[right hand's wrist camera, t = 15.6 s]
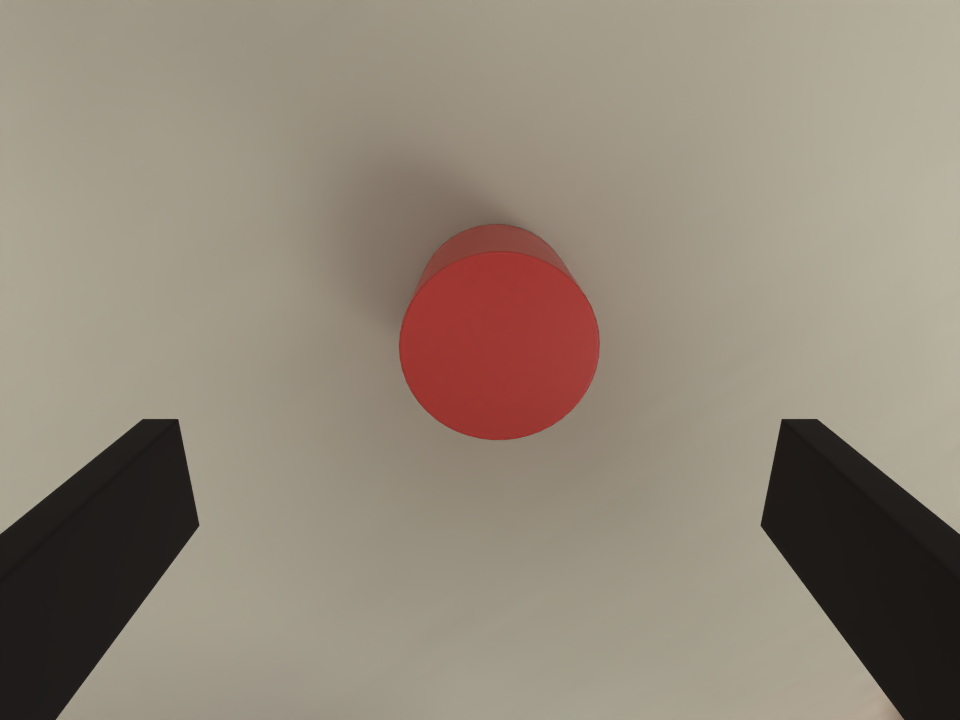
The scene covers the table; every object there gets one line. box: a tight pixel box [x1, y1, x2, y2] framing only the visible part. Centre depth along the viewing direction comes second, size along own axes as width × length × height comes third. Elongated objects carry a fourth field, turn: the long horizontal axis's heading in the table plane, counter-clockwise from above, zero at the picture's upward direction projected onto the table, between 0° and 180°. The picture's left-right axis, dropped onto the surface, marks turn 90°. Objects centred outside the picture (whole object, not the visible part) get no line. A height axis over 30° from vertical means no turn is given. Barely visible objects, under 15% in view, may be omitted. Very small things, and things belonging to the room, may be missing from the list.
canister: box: [399, 225, 600, 440], centre depth 25 cm, size 8×8×7 cm
